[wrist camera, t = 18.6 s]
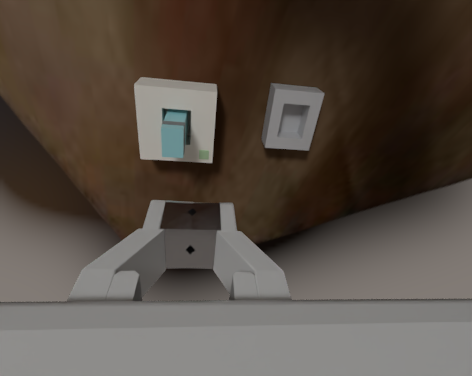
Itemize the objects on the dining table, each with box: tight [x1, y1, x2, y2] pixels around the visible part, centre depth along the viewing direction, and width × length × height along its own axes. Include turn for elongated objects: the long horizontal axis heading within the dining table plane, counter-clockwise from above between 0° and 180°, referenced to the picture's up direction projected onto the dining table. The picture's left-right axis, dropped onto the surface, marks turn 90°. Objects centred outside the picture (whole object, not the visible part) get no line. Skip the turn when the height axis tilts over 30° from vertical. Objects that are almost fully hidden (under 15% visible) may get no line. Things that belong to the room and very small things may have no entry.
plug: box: [161, 109, 188, 158], centre depth 43 cm, size 4×3×10 cm
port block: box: [134, 77, 217, 163], centre depth 46 cm, size 12×12×5 cm
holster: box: [262, 83, 325, 151], centre depth 48 cm, size 10×8×4 cm
